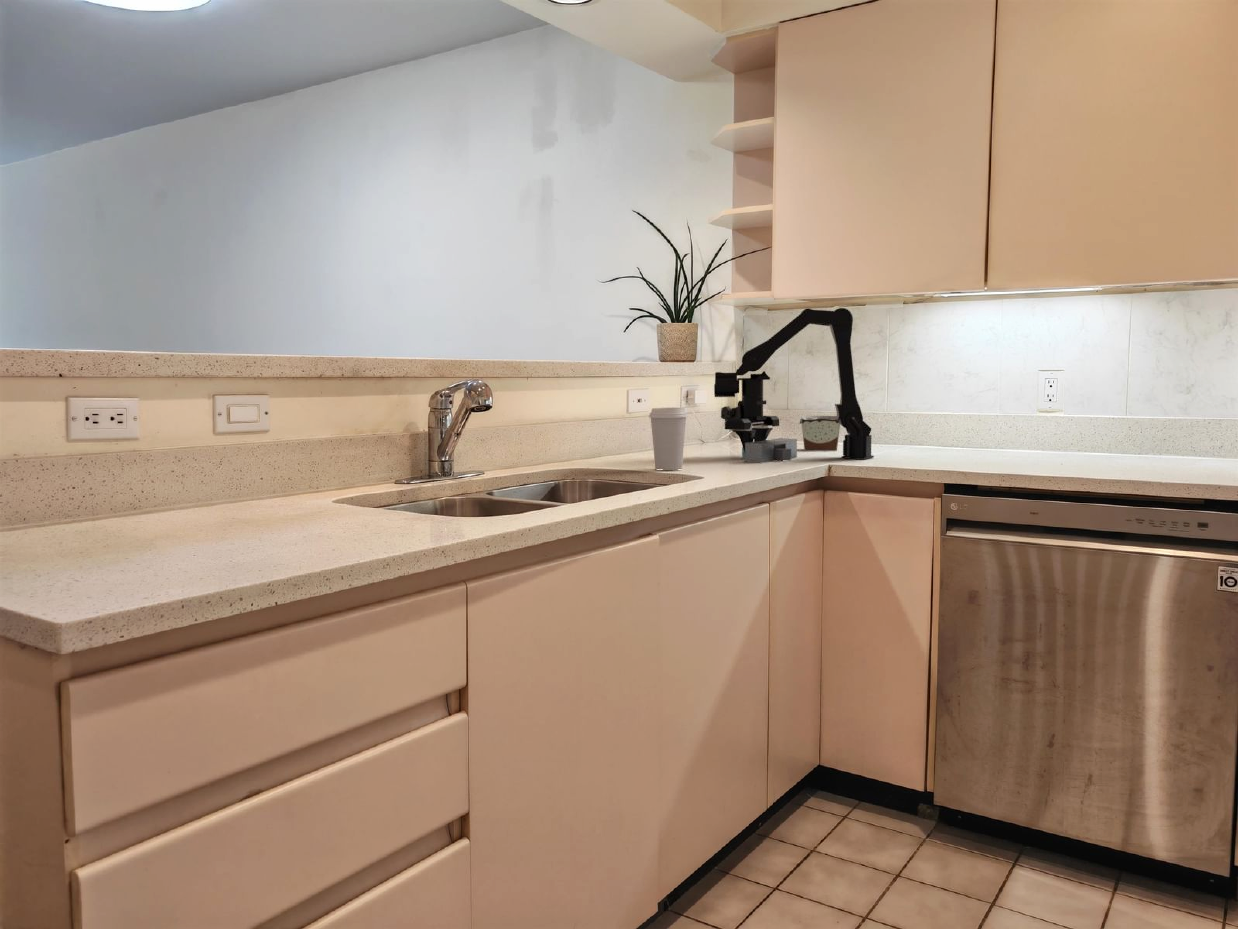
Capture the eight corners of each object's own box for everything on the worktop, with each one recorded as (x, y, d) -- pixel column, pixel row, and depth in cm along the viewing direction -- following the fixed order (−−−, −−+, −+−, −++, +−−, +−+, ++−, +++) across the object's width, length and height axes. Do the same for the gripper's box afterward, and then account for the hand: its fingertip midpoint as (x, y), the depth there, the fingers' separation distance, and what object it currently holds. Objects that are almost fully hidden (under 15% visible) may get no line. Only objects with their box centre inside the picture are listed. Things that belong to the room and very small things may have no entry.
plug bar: (791, 460, 240) (791, 448, 240) (782, 461, 237) (782, 449, 237) (750, 457, 249) (750, 446, 249) (742, 458, 246) (742, 447, 246)
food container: (839, 449, 269) (839, 415, 268) (842, 450, 263) (842, 416, 262) (797, 449, 271) (797, 415, 270) (799, 451, 264) (799, 416, 263)
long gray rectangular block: (796, 457, 247) (796, 438, 247) (761, 462, 234) (761, 443, 233) (780, 456, 250) (780, 438, 250) (745, 461, 237) (745, 442, 236)
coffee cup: (685, 471, 216) (685, 409, 215) (646, 471, 218) (645, 409, 217) (690, 467, 226) (690, 407, 224) (652, 467, 228) (652, 407, 226)
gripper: (746, 395, 256) (746, 450, 258) (707, 397, 242) (708, 455, 244) (780, 395, 249) (780, 452, 251) (743, 398, 235) (743, 458, 237)
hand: (752, 454), depth 246 cm, fingers open, 5 cm apart
